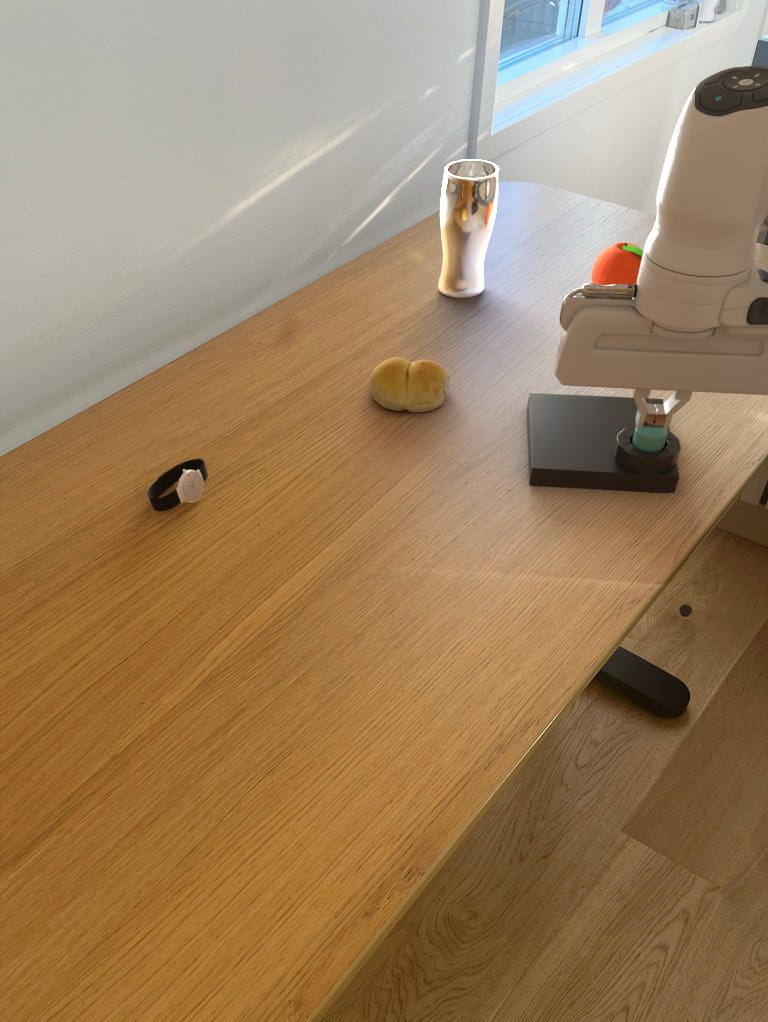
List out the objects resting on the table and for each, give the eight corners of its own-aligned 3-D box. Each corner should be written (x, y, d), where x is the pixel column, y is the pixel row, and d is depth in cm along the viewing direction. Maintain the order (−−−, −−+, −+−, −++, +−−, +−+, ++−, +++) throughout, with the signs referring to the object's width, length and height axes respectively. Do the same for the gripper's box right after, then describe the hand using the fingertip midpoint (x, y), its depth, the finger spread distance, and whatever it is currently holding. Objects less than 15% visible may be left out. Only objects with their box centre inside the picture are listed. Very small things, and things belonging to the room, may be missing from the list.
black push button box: (657, 416, 103) (667, 383, 100) (674, 494, 93) (684, 460, 90) (526, 410, 104) (531, 377, 102) (528, 486, 95) (534, 453, 92)
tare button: (661, 436, 94) (666, 421, 92) (665, 454, 92) (669, 439, 90) (630, 435, 94) (634, 420, 93) (633, 452, 92) (637, 437, 91)
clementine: (660, 299, 121) (674, 244, 116) (630, 319, 118) (643, 263, 112) (605, 281, 125) (617, 227, 120) (575, 299, 122) (586, 245, 117)
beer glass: (431, 298, 124) (439, 178, 113) (438, 274, 128) (446, 157, 118) (484, 301, 122) (498, 181, 112) (489, 277, 127) (503, 159, 116)
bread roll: (377, 372, 111) (378, 341, 108) (452, 381, 109) (455, 350, 106) (360, 410, 106) (360, 378, 103) (439, 420, 104) (441, 388, 101)
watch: (174, 523, 93) (170, 493, 91) (138, 508, 95) (132, 479, 92) (220, 482, 98) (217, 453, 95) (184, 469, 99) (179, 440, 97)
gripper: (567, 299, 81) (542, 437, 91) (821, 308, 78) (767, 449, 88) (564, 267, 85) (540, 401, 95) (805, 274, 82) (754, 412, 92)
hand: (651, 424), depth 91 cm, fingers closed
